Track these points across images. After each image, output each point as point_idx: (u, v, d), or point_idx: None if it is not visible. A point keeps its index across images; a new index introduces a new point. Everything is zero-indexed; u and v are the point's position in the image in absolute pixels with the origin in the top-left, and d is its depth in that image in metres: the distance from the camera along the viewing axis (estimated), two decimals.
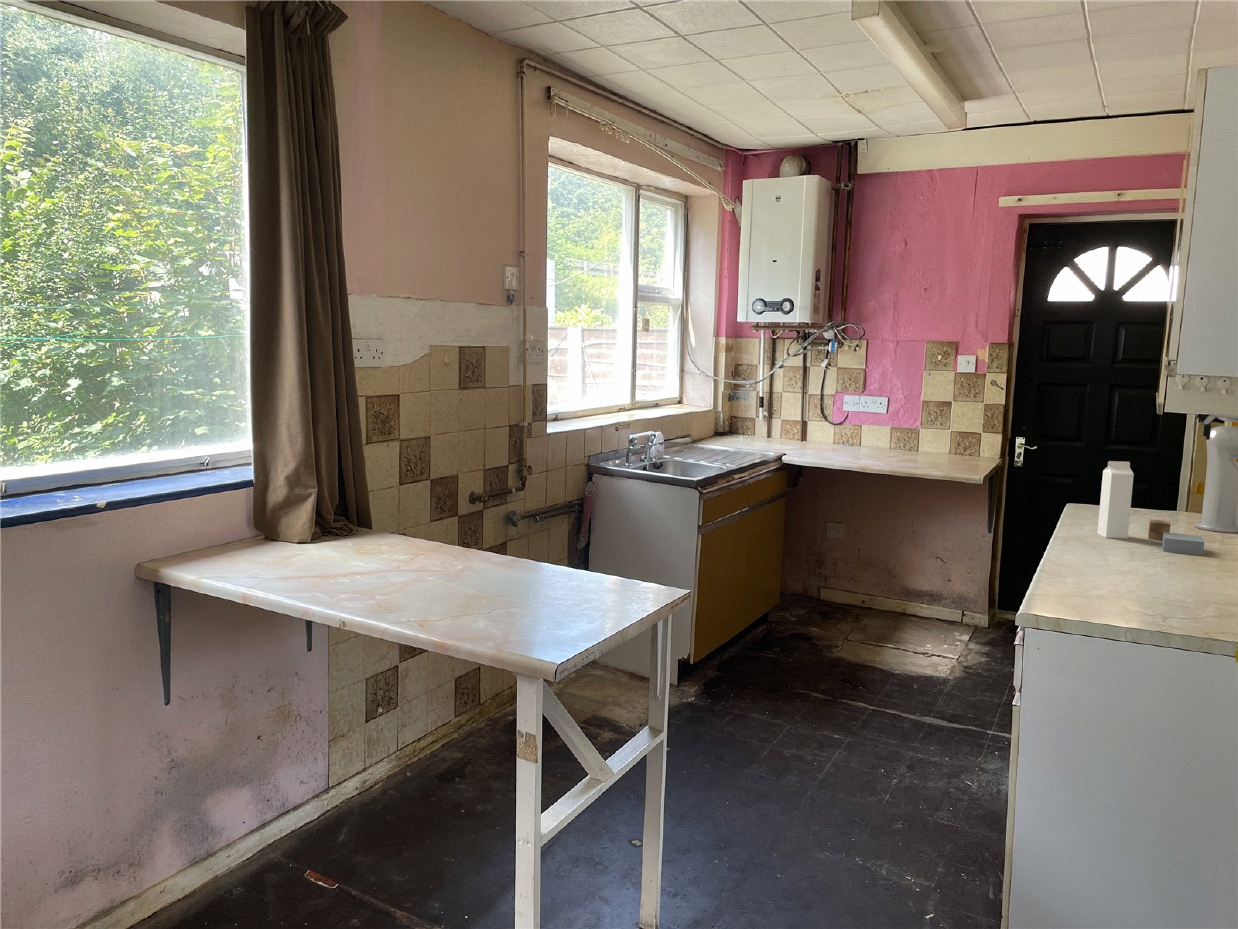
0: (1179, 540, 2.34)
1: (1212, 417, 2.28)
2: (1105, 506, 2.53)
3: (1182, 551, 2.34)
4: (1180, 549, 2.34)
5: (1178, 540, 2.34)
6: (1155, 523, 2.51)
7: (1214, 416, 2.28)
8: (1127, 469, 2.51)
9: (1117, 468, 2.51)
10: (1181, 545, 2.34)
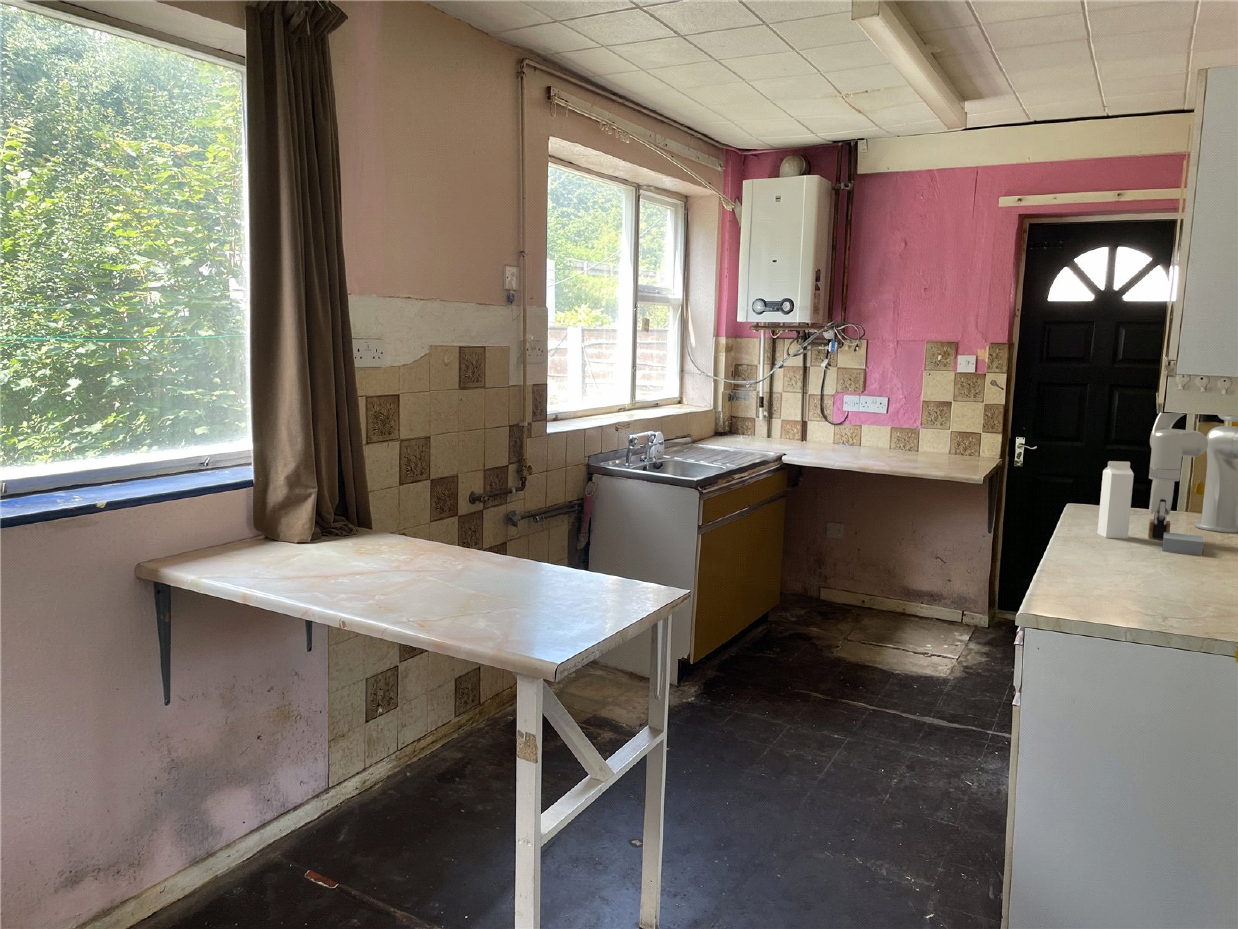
0: (1178, 540, 2.34)
1: (1166, 517, 2.49)
2: (1105, 506, 2.53)
3: (1181, 551, 2.34)
4: (1180, 549, 2.34)
5: (1177, 540, 2.34)
6: None
7: (1168, 514, 2.48)
8: (1127, 469, 2.51)
9: (1117, 468, 2.51)
10: (1180, 545, 2.34)
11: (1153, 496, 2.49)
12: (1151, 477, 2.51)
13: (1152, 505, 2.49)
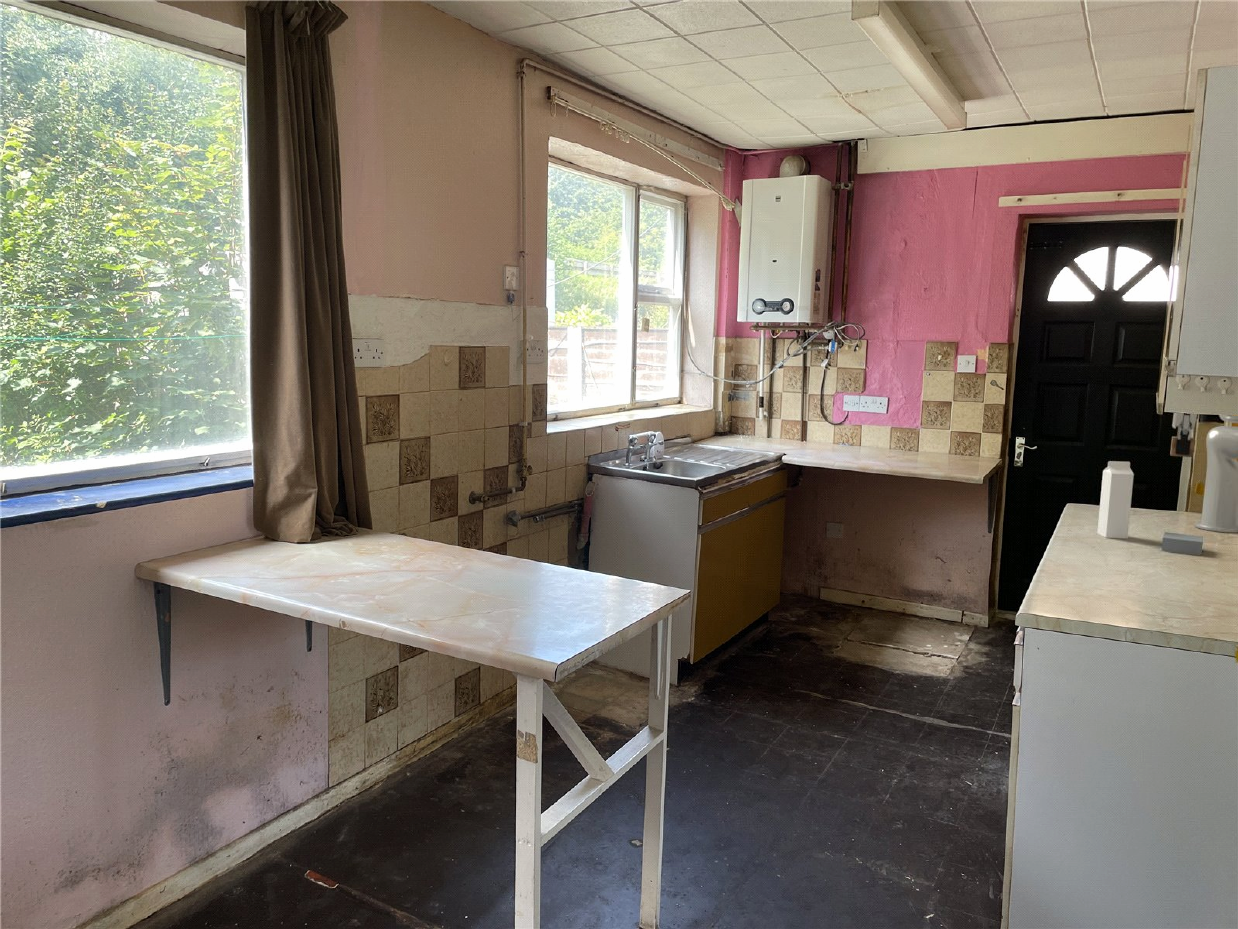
0: (1177, 540, 2.34)
1: (1190, 432, 2.36)
2: (1105, 506, 2.53)
3: (1180, 551, 2.34)
4: (1179, 549, 2.34)
5: (1176, 540, 2.34)
6: None
7: (1192, 428, 2.35)
8: (1127, 469, 2.51)
9: (1117, 468, 2.51)
10: (1179, 545, 2.34)
11: None
12: None
13: (1175, 419, 2.36)
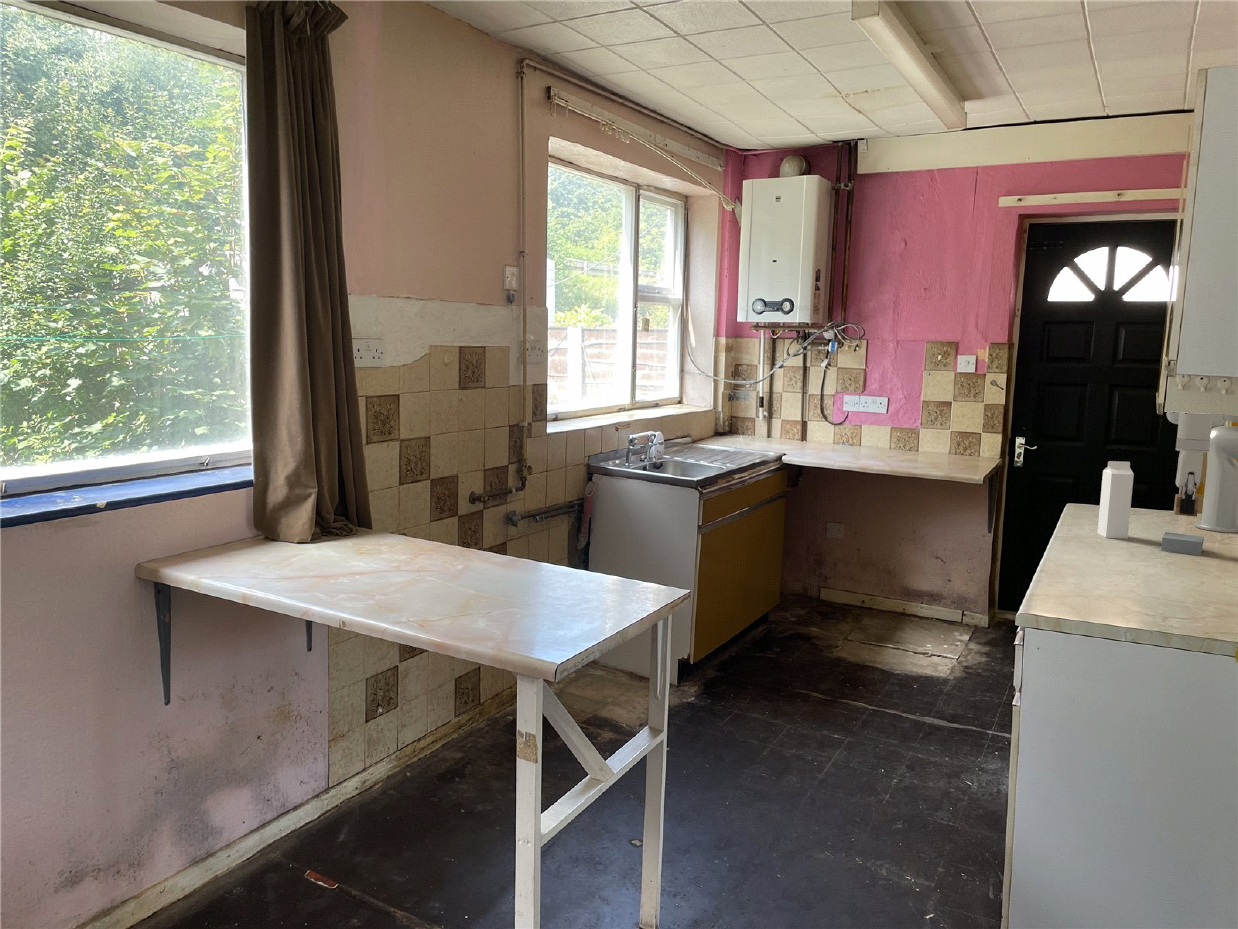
0: (1177, 540, 2.34)
1: None
2: (1105, 506, 2.53)
3: (1180, 551, 2.34)
4: (1178, 549, 2.34)
5: (1176, 540, 2.35)
6: None
7: None
8: (1127, 469, 2.51)
9: (1117, 468, 2.51)
10: (1179, 545, 2.34)
11: (1181, 469, 2.32)
12: (1178, 448, 2.34)
13: (1180, 478, 2.32)
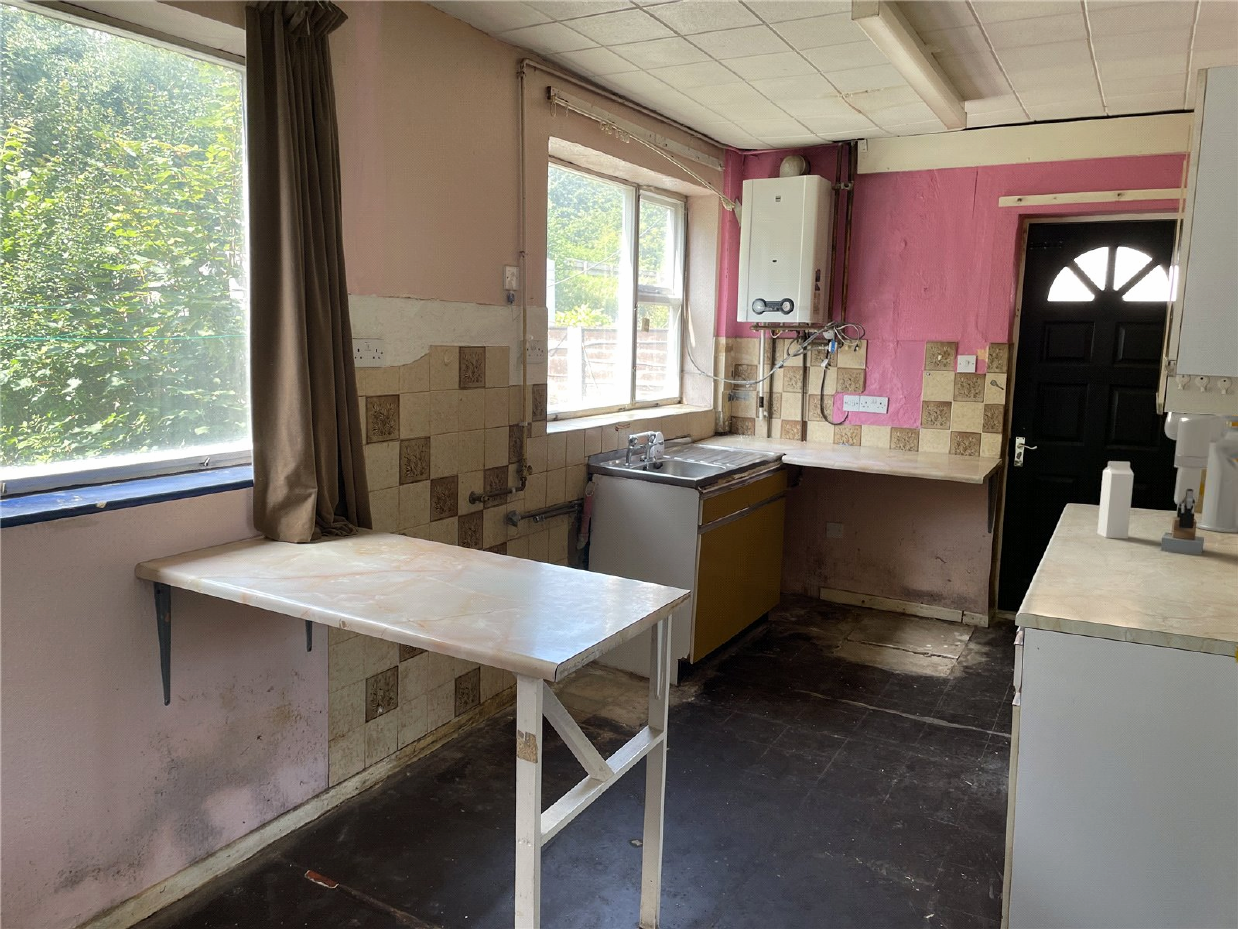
0: (1176, 540, 2.34)
1: None
2: (1105, 506, 2.53)
3: (1179, 551, 2.34)
4: (1178, 549, 2.34)
5: (1175, 540, 2.35)
6: None
7: None
8: (1127, 469, 2.51)
9: (1117, 468, 2.51)
10: (1179, 545, 2.34)
11: (1179, 485, 2.33)
12: (1177, 465, 2.35)
13: (1178, 495, 2.33)
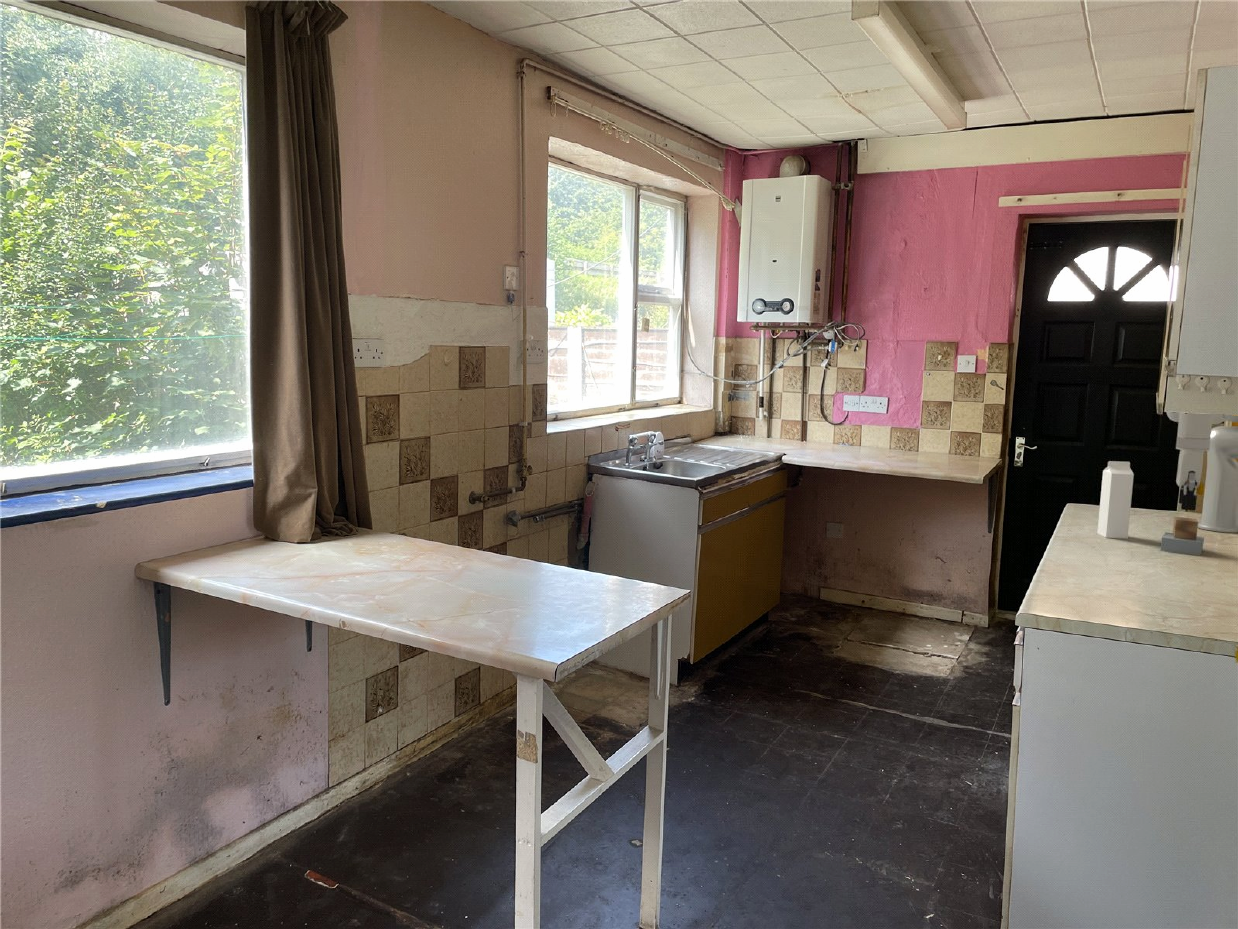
0: (1176, 540, 2.34)
1: None
2: (1105, 506, 2.53)
3: (1179, 551, 2.34)
4: (1178, 549, 2.34)
5: (1175, 540, 2.35)
6: (1181, 521, 2.35)
7: None
8: (1127, 469, 2.51)
9: (1117, 468, 2.51)
10: (1178, 545, 2.34)
11: (1181, 468, 2.32)
12: (1179, 447, 2.34)
13: (1180, 477, 2.32)
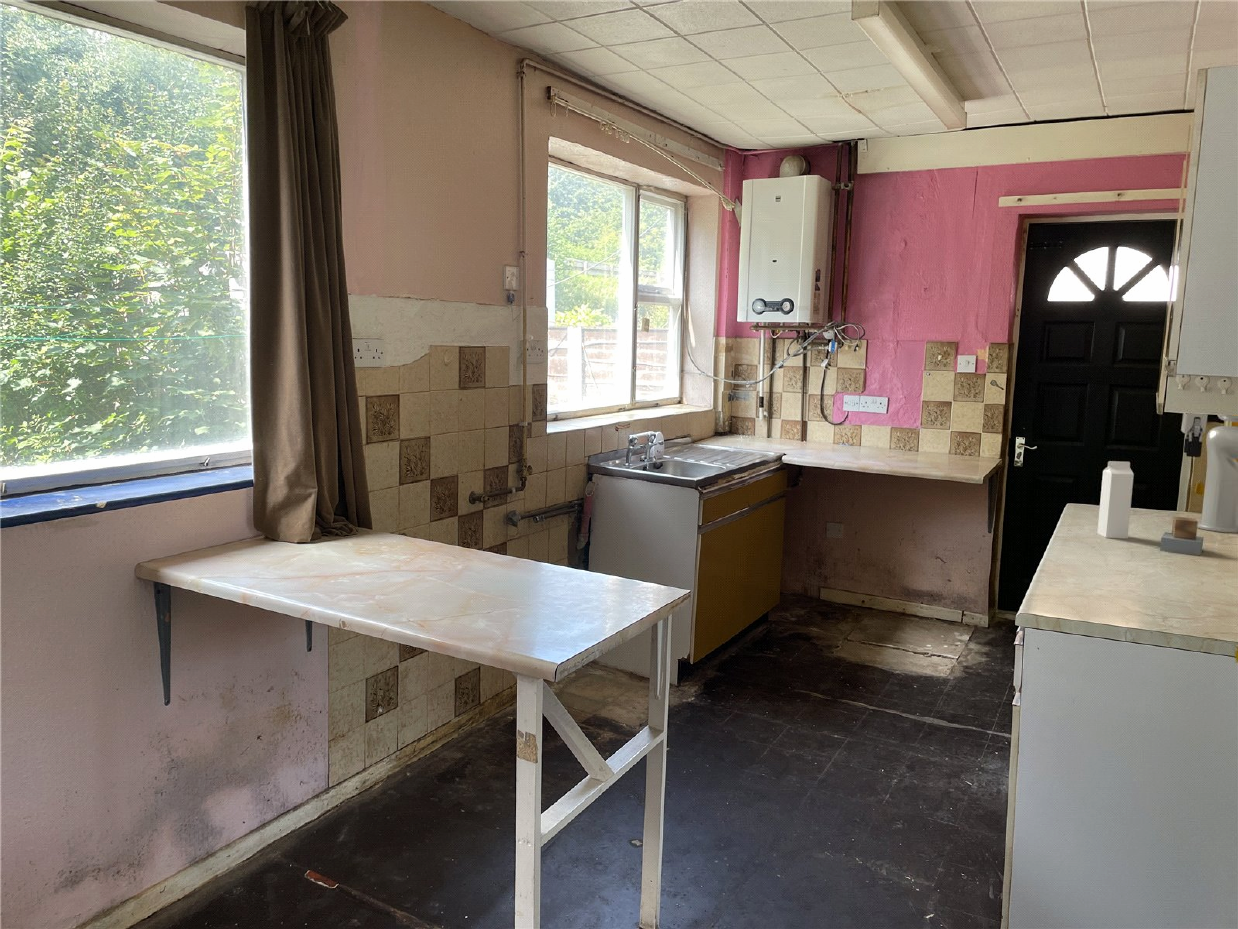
0: (1176, 540, 2.35)
1: (1201, 434, 2.29)
2: (1105, 506, 2.53)
3: (1179, 551, 2.34)
4: (1177, 549, 2.35)
5: (1175, 540, 2.35)
6: (1181, 521, 2.35)
7: (1202, 433, 2.29)
8: (1127, 469, 2.51)
9: (1117, 468, 2.51)
10: (1178, 545, 2.34)
11: (1186, 414, 2.30)
12: None
13: (1185, 424, 2.30)
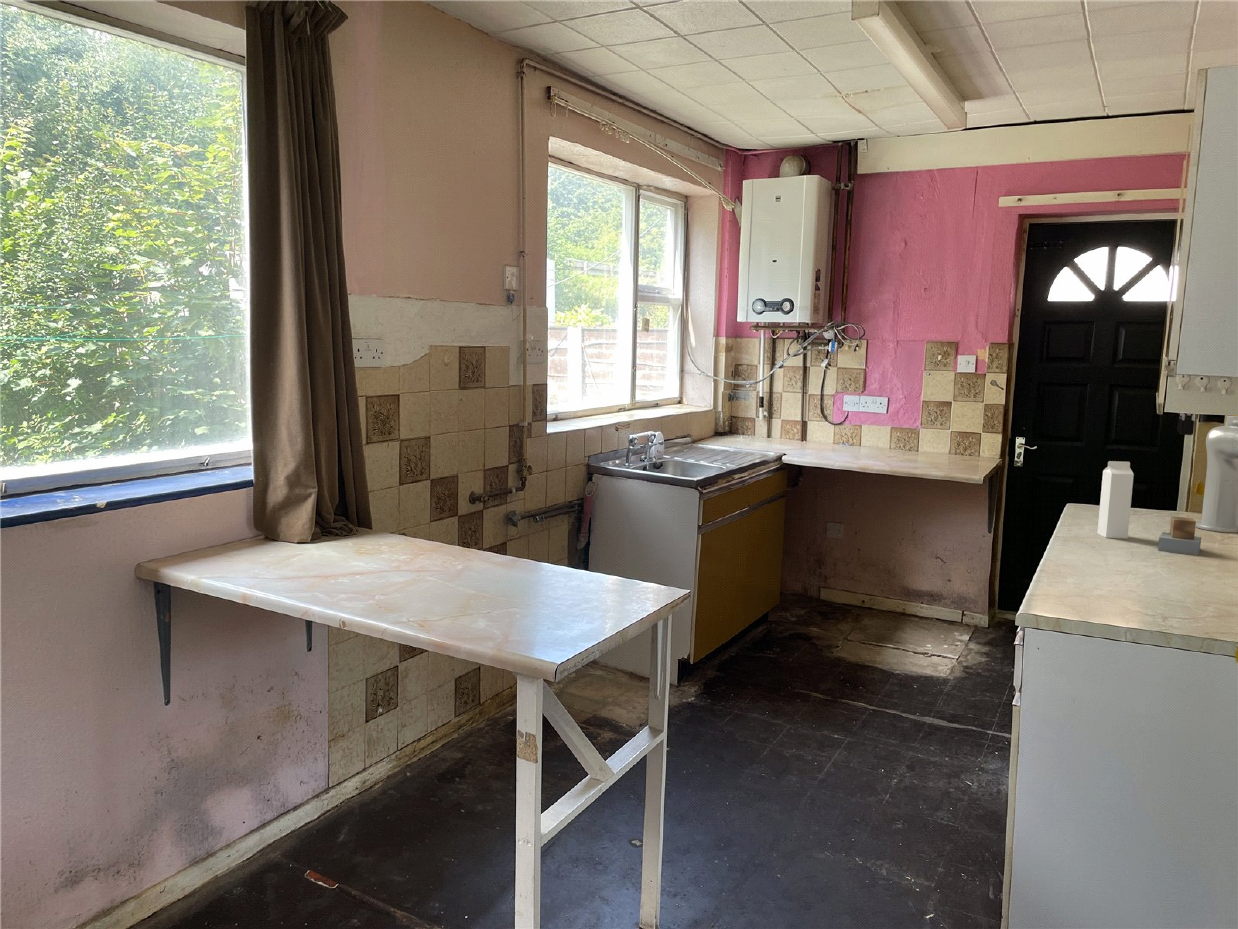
0: (1173, 540, 2.35)
1: None
2: (1105, 506, 2.53)
3: (1176, 551, 2.34)
4: (1175, 549, 2.35)
5: (1172, 540, 2.35)
6: (1179, 521, 2.35)
7: None
8: (1127, 469, 2.51)
9: (1117, 468, 2.51)
10: (1176, 545, 2.34)
11: None
12: None
13: None
